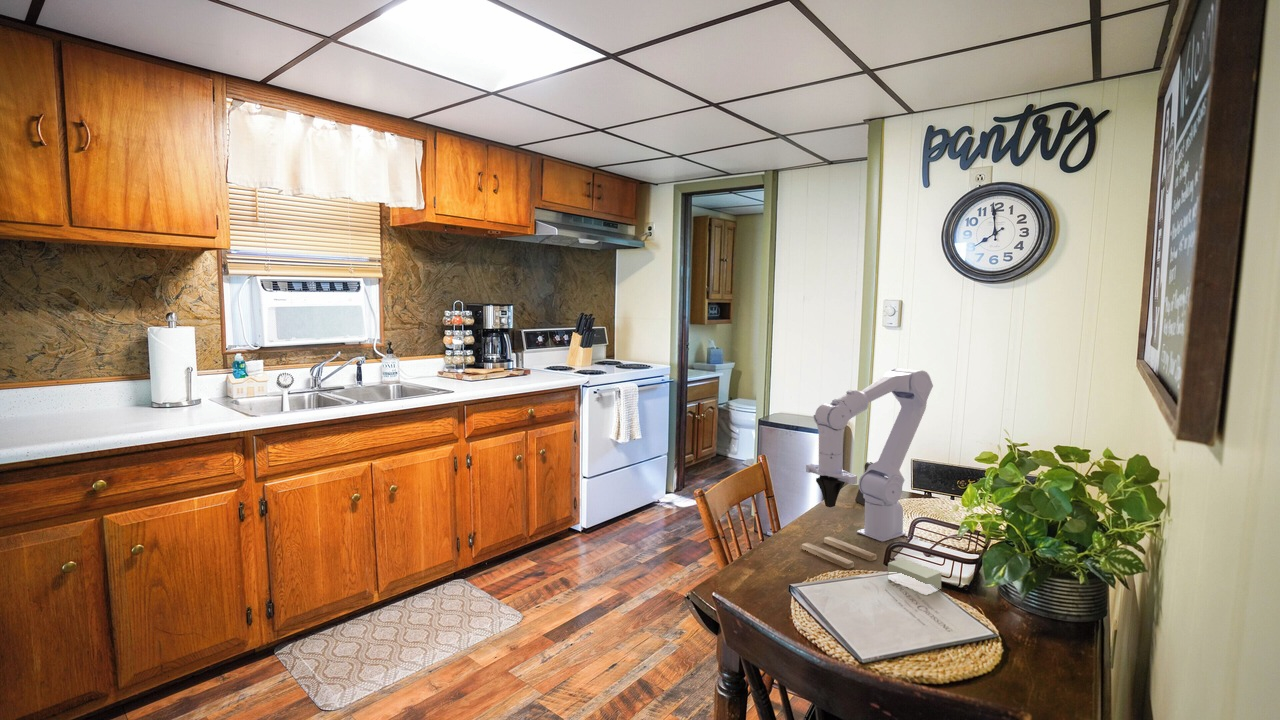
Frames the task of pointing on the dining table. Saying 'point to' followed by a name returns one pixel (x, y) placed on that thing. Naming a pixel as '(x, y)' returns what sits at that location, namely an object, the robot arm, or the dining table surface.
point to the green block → (916, 571)
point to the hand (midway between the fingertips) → (830, 506)
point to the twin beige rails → (836, 558)
